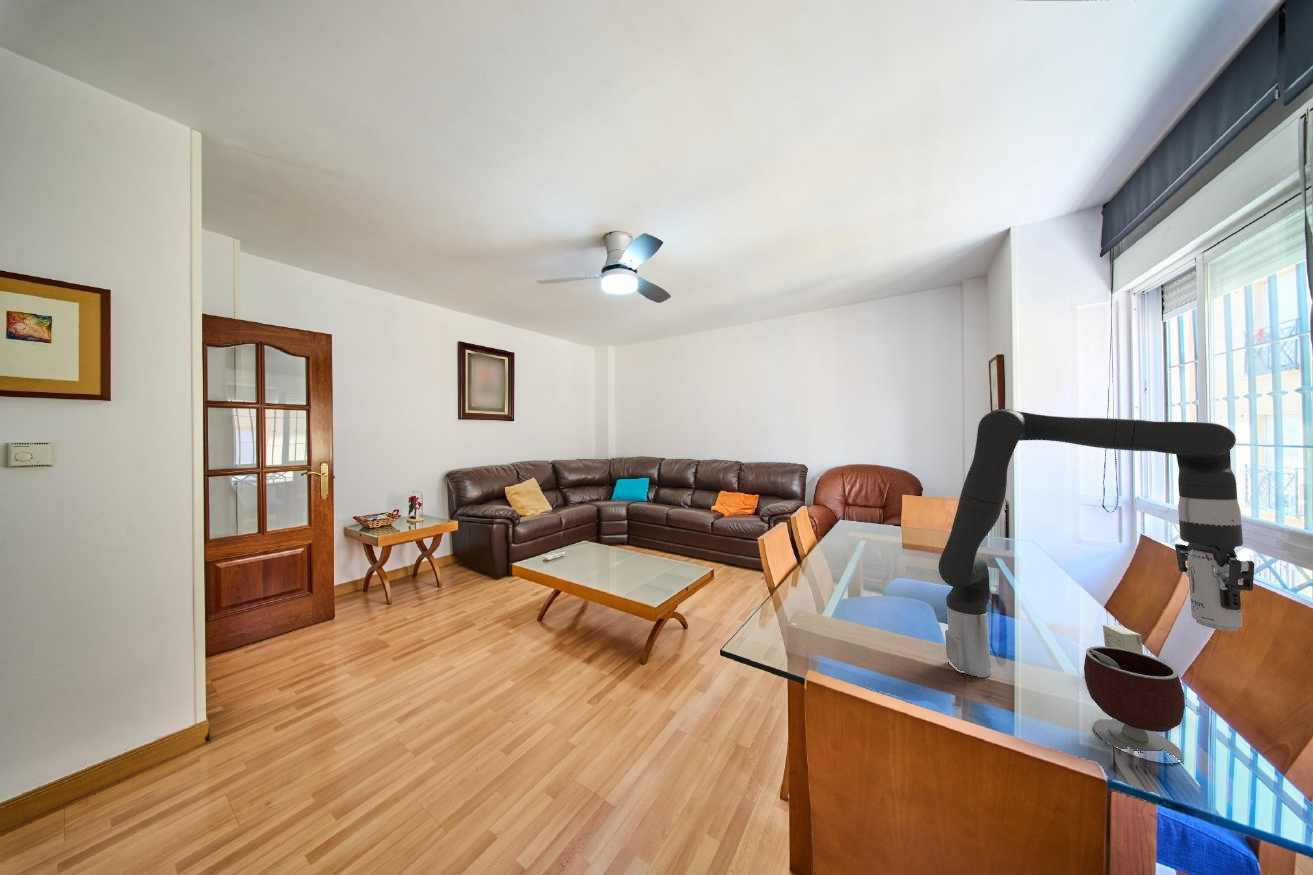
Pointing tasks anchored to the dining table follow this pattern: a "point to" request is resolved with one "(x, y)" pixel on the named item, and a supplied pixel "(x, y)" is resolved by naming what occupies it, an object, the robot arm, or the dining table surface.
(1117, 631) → the skincare box
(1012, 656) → the dining table surface
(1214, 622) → the energy drink can
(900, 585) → the dining table surface
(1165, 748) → the mate gourd
